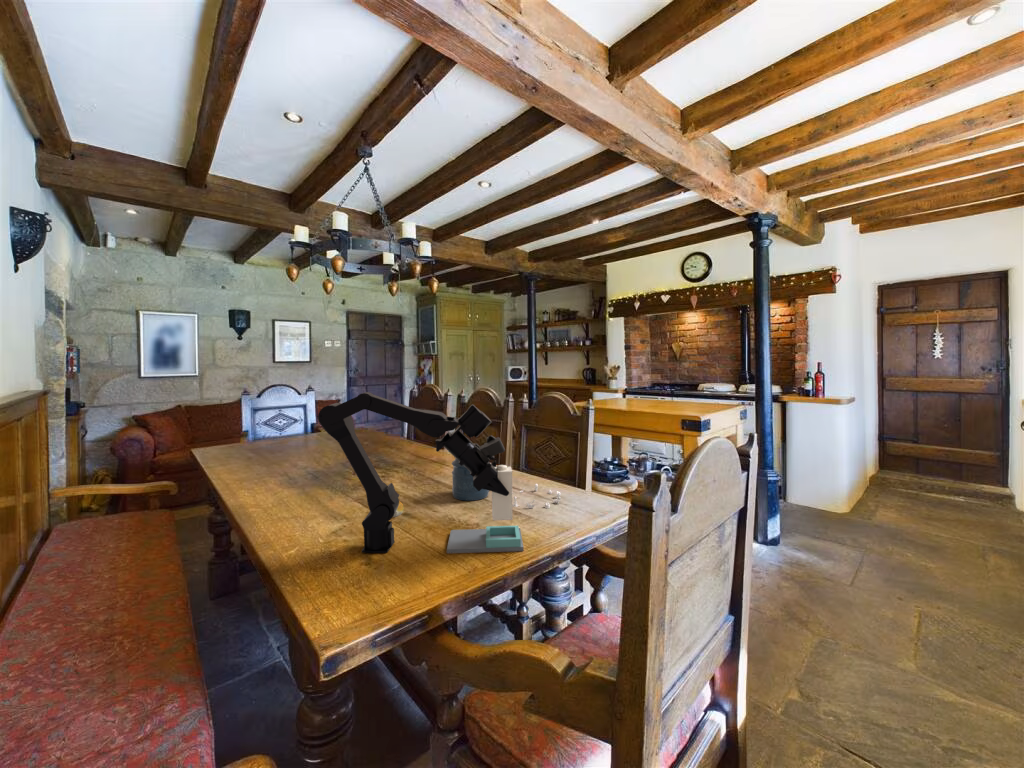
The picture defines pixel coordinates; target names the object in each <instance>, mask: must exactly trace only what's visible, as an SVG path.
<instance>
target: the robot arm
mask: <svg viewBox="0 0 1024 768" xmlns="http://www.w3.org/2000/svg"><path fill="white" fill-rule="evenodd" d="M363 410H366V411H369V412H373V413H376V414H379V415H381V416H384V417H388V418H390V419H392V420H393V419H394V420H397V421H400V422H403V423H405V424H409V425H411V426H413V427H414V428H416V429H417V430H418V431H419V432H421V433H423V434H425V435H428V436H429V437H432V438H438V439H435V446H436V449H435V451H436V452H440V451H441V450H442V449H443V448H444V449H445V450H446V451H448V452H449V453H450V454H451V455H452V456H453V457H455V458H456V459H457V460H458V461H459V464H460V465H461V466H462V465H464V466H465V467H466V468H467V469H468V470H469V471H470V474H471V475H472V476H473V486H474V487H475V488H476V489H477V490H478V491H480V490H481V489H485V490H489V492H491V493H492V492H495V493H498V494H501V495H504V496H507V495H508V494H509V492H508V490H507V489H506V488H505V486H504V485H503V484H502V482H501V481H500V480H499V478H498V470H497V469H495V467H497V461H496V459H495V456H496V455H499V454H502V453H504V452H505V451H506V449H505V446H504V444H503V442H502V439H501V437H499V436H498V437H495V436H493V435H492V434H491V435H489V436H487V437H486V442H484V443H483V444H482V445H479V444H478V443H473V442H472V441H471V440H470V439H471V438H474V437H475V438H478V437H479V436H480V435H481V434H482V433H483V432H484V431H485V430H486V429H487V427H488V426H490V424H491V423H493V421H492V420H491V419H490V418H489V416H488V415H486V414H485V412H483V411H482V410H480V409H479V408H478V407H476V405H475V404H470V405H469V407H468V409H467V410H466V411H465V412H464V413H463V414H462V415H460V417H456V416H455V417H454V416H447V414H445V413H443V412H441V411H437V410H432V409H431V410H430V409H419V408H414V407H411V406H408V405H407V404H406V405H405V404H402V403H399V402H396V401H394V400H391V399H387V398H384V397H383V396H378V395H375V394H373V393H372V392H370V391H367V392H362V393H359V394H358V395H357V396H355V397H353V398H351V399H349V400H346V401H344V402H336V403H335V402H334V403H332V404H329V405H326V406H324V407H322V408H321V409H320V411H319V412H318V414H317V415H318V416H317V420H318V423H319V424H320V426H321V427H322V429H324V431H325V432H326V433H327V435H329V436H330V437H332V438H333V439H334V440H335V441H336V442H337V443H338V445H339V446H340V447H341V449H342V452H343V454H344V455H345V457H346V459H347V461H348V462H349V465H350V466H351V468H352V469H353V471H354V473H355V475H356V476H357V477H356V478H358V480H359V482H360V483H361V485H362V487H363V489H364V491H365V496H366V501H367V506H368V508H369V512H368V513H367V515H366V516H365V517H364V519H363V520H362V522H361V525H362V528H363V545H364V546H363V548H362V549H361V553H368V554H370V553H371V554H374V553H375V554H376V553H377V554H381V553H382V554H386V553H388V552H389V551H390V549H391V548H392V546H394V544H395V543H396V542H395V527H393V522H392V519H393V518H394V517H393V516H394V514H395V512H396V510H397V508H398V506H399V501H400V499H399V497H400V494H399V493H398V492H397V491H396V489H395V486H394V484H393V482H390V483H389V484H386V482H384V481H383V480H382V479H381V477H380V475H379V474H378V472H377V470H376V468H375V467H374V464H373V463H372V461H371V459H370V457H369V455H368V454H367V452H366V450H365V449H364V447H363V444H362V443H361V440H359V437H358V436H357V433H356V431H355V426H354V424H355V423H354V420H353V417H352V416H354V415H355V414H357V413H359V412H362V411H363ZM451 431H453V432H451ZM446 432H447V433H446ZM445 433H446V434H445ZM443 435H444V436H443ZM441 436H442V438H440V437H441ZM468 437H469V438H468ZM455 458H454V459H455ZM491 460H492V462H490V461H491ZM488 462H489V463H488Z"/></svg>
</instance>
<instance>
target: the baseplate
mask: <svg viewBox="0 0 1024 768" xmlns="http://www.w3.org/2000/svg"><path fill="white" fill-rule="evenodd" d="M503 552H505V553H507V552H524V542H523V536H522V531H521V527H519V525H494V526H493V525H492V526H490V525H489V526H488V525H487V526H486V527H485V528H478V529H477V528H475V529H473V528H469V529H468V528H467V529H451V530H450V534H449V538H448V543H447V546H446V554H470V553H472V554H473V553H503Z"/></svg>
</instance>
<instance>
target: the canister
mask: <svg viewBox="0 0 1024 768" xmlns="http://www.w3.org/2000/svg"><path fill="white" fill-rule="evenodd" d="M453 457H454V456H453ZM489 462H490V461H489ZM489 462H488V463H489ZM451 466H453V468H452V472H451V475H452V476H451V477H452V488H451V490H452V491H451V492H452V497H453V498H454V499H456V500H459V501H466V502H468V501H469V502H470V501H471V502H472V501H478V500H482V499H483V500H484V499H485V498H487V497H488V496H489V492H490V491H489V490H485V489H481V490H480V491H478V490H477V489H476V488H475V487H474V486H473V476H472V475H471V474H470V471H469V470H468V469H467V468H466V467H465V466H464V465H462V466H461V465H460V464H459V461H458V460H457V459H456V458H455V457H454V460H453V461H452V462H451Z"/></svg>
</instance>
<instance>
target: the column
mask: <svg viewBox="0 0 1024 768" xmlns="http://www.w3.org/2000/svg"><path fill="white" fill-rule="evenodd" d="M495 469H497V470H498V478H499V480H500V481H501V482H502V484H503V485H504V486H505V488H506V489H507V490H508V492H509V494H508V495H507V496H504V495H501V494H498V493H495V492H492V491H491V515H492V521H511V520H512V521H513V506H512V504H513V494H512V492H513V491H512V490H513V468H512V466H507V465H506V464H499V465H496V467H495Z"/></svg>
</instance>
